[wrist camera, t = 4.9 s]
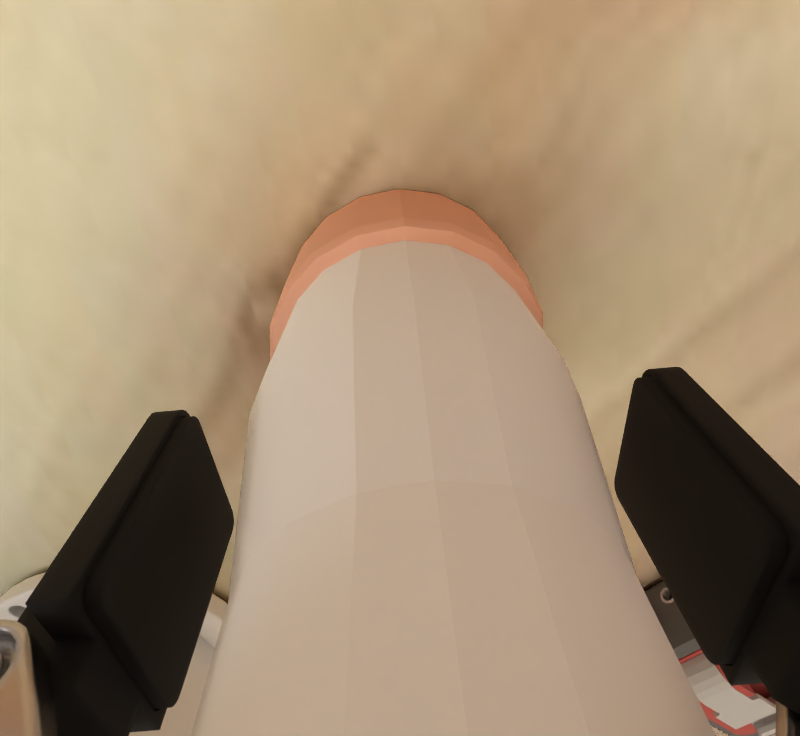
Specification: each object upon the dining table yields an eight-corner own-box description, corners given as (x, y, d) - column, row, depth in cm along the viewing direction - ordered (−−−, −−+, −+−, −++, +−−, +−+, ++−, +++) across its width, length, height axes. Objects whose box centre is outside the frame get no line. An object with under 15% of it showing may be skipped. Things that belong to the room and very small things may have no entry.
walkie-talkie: (860, 627, 27) (652, 442, 19) (940, 720, 23) (719, 532, 16) (714, 694, 30) (489, 557, 23) (763, 785, 26) (510, 655, 19)
